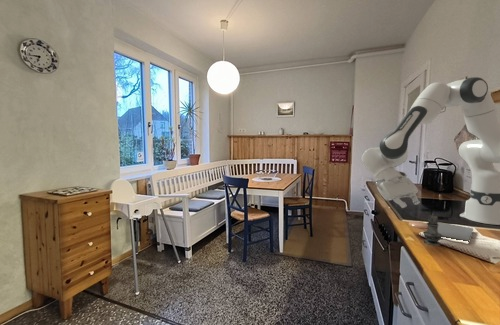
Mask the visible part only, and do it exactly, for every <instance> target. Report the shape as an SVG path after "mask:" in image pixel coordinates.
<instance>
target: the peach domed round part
mask: <svg viewBox="0 0 500 325" xmlns="http://www.w3.org/2000/svg"><path fill="white" fill-rule="evenodd" d="M427 223H428V222H423V221H422V222H421V221H418V220H417V221H416V220H415V221H414V220H413V221H409V222H408V226H410V227H412V228H416V229H426V230H427V229H428V224H427Z"/></svg>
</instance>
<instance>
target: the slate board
mask: <svg viewBox="0 0 500 325" xmlns="http://www.w3.org/2000/svg"><path fill="white" fill-rule="evenodd" d="M438 225H439V226H438V233H439V234H441V235H442V237H446V238H451V239H456V240H463V241H468V242H469V240H470V241H471V239H470V237H471V238H472V236H471V234H472V235H473V233H472V231H473V232H474V228H473V227H468V226H462V225H456V224H451V223H447V222H446V223H444V222H439V221H438ZM469 243H470V242H469Z"/></svg>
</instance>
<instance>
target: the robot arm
mask: <svg viewBox="0 0 500 325" xmlns="http://www.w3.org/2000/svg"><path fill="white" fill-rule="evenodd" d="M458 106H460V107H461V111H462V115H463V119H464V122H465V126H466V129H467V131H468V133H470V134H472V135H474V136H475V137H476V139H471V140H466V141H464V142H462V143H461V144H460V145H459V147H458V155H459V156H460V158H461V159H463V160H464V161H465V162H466V164H467V165H468V167H469V170H470V173H471V189H470V192H469V197H470V198H469V199H466V200H465V205H464V206H465V207H464V211H463V212H462V213H460V214H459V217H461V218H465V219H467V220H469V221H472V222H476V223H482V224H487V225H495V226H496V225H497V226H500V171H499V170H497V169H496V168H495V165H494V164H500V117H499V115H498V112H497V108H496V104H495V102H494V100H493V97H492V95H491V93H490V92H489V86H488V83H487V81H486V80H485V79H484V78H482V77H477V76H475V77H474V76H473V77H468V78H462V79H457V80H455V81H452V82H448V83H444V82H436V81H435V82H432V83H430V84H429V85H428V86H426V88H424V89H423V91H422V92H420V94H419V95H418V96H417V97H416V99H415V100H414V101H413V104H411V107H410V109H409V110H408V112H407V113H406V115H404V116H403V119H401V120H400V122H399V123H398V125H396V128H394V129H393V131H391V132H390V133H389V134H387V135H385V136H384V137H383V138H382V139H381V140H380V142H379V147H369V148H367V149H366V150H364V151H363V153H362V155H361V158H360V159H361V161H362V162H361V163H362V164H363V166H365V169H366V170H367V171H368V172H369V173H370V174H372V176H373V178H374V180H376V181H375V186H376V188H377V190H378V192H379V194H380V195H381V196H382V198H383V199H384V200H385V201H386V202H387V201H393V202H394V203H395V204H397V205H398V206H399V207H401V209H404V208H406V207H407V206H408V205H407V204H406V202H405V201H403V200H401V199H402V198H406V197H409V198H410V199H411V200H412V202H411V203H413V205H414V206H415V205H416V206H417V205H419V204H420V203H421V202H420V200H419V198H418V196H417V193H418V192H419V188H418V187H417V186H416V184H415V183H414V182H413V181H412V180H411V179H410V178H409V177H408V175H407V174H406V172H404V171H400V170H398V169H396V167H398V166H400V165H403V164H404V163H405V162H406V161H407V159H408V145H409V139H410V138H411V136H412V135H413V133H414V132H416V129H418V127H419V125H427V124H431V123H432V122H433V121H435V119H436V118H437V117H438V116H439V115H440V113H441V112H442V110H443V109H444V108H452V107H458ZM477 138H478V139H477Z"/></svg>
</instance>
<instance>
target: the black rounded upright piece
mask: <svg viewBox="0 0 500 325" xmlns="http://www.w3.org/2000/svg"><path fill="white" fill-rule="evenodd" d="M427 217H428V218H427V220H428V221H427V222H426V223H427V224H428V228H427V229H426V230H424V231H423V232H422V234H423V236H424V238H425V239H424V240H423V243H424V244H426V245H429V246H433V247H434V246H435V247H439V246H441V243H440V242H439V241H440V240H442V239H441V237H442V235H441V234H439V233H438V226H439V225H438V222H439V217H438V216H437V215H436V214H435V213H434V212H432V213H431V214H429V215H428V216H427Z"/></svg>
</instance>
